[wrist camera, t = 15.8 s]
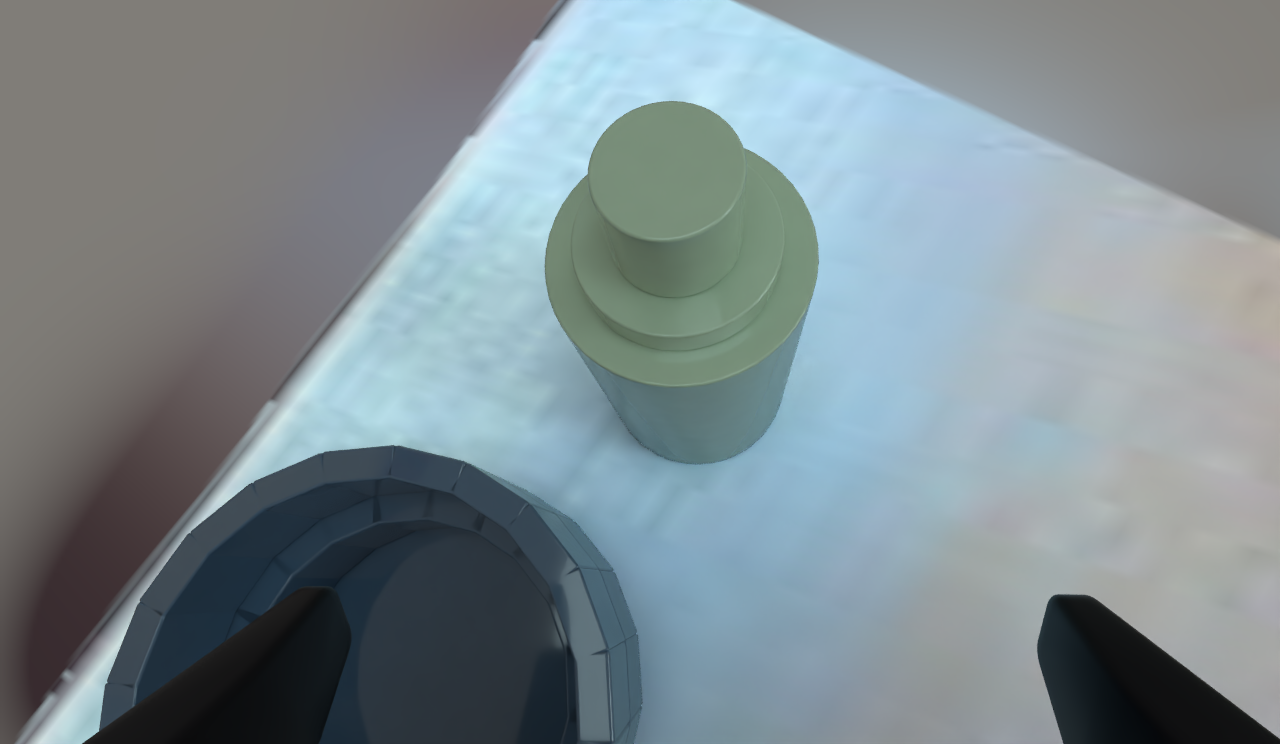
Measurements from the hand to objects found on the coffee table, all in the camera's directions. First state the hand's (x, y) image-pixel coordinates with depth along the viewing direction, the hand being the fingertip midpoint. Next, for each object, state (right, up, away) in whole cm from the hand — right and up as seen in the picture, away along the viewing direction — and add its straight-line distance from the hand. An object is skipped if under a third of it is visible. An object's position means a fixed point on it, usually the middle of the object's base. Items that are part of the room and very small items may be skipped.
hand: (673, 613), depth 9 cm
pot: (-6, -6, +12) cm, 15 cm away
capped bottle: (+1, +3, +14) cm, 14 cm away
